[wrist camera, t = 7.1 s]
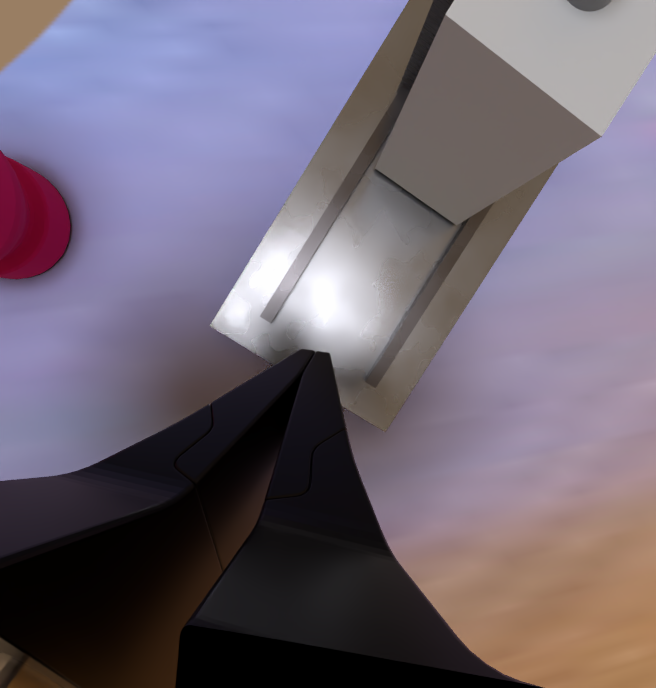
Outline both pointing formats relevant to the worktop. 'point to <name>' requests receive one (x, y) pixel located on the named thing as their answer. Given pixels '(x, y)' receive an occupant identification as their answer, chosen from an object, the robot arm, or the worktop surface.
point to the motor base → (369, 248)
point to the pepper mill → (29, 222)
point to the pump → (513, 95)
